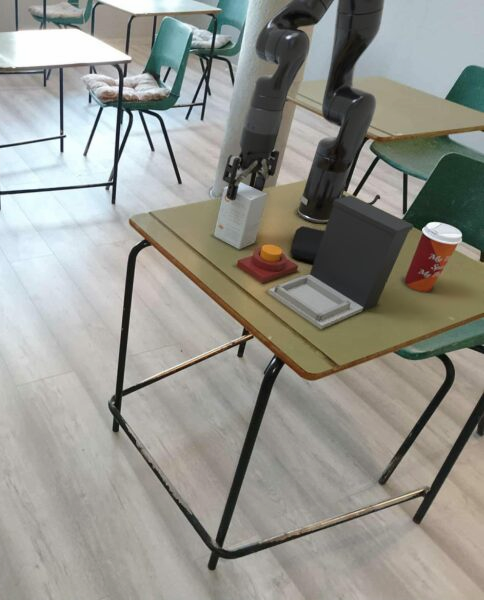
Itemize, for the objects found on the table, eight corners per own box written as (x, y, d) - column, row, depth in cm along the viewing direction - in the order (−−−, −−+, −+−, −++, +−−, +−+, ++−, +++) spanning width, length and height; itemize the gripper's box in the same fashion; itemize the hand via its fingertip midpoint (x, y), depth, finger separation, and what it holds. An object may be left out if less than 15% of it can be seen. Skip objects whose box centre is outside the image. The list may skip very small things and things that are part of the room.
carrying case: (335, 271, 130) (338, 243, 141) (339, 260, 128) (342, 232, 139) (287, 259, 133) (294, 233, 144) (291, 248, 131) (298, 222, 142)
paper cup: (419, 297, 123) (447, 240, 115) (391, 278, 129) (416, 223, 121) (444, 290, 126) (473, 235, 118) (416, 272, 132) (441, 218, 124)
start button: (269, 250, 129) (271, 242, 128) (284, 259, 126) (286, 251, 125) (255, 255, 127) (257, 247, 126) (270, 264, 124) (272, 256, 123)
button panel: (270, 255, 134) (273, 242, 132) (296, 271, 128) (300, 258, 126) (236, 266, 129) (239, 253, 127) (262, 284, 123) (266, 270, 121)
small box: (255, 243, 138) (268, 193, 131) (238, 250, 135) (251, 200, 127) (229, 229, 143) (240, 181, 136) (212, 236, 140) (223, 186, 132)
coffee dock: (322, 271, 129) (350, 195, 118) (377, 305, 120) (413, 224, 109) (267, 292, 121) (291, 211, 110) (321, 329, 111) (354, 245, 100)
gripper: (250, 136, 117) (233, 208, 126) (296, 129, 124) (277, 197, 133) (225, 125, 122) (210, 194, 131) (271, 118, 129) (253, 185, 138)
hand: (243, 196), depth 132 cm, fingers open, 8 cm apart
